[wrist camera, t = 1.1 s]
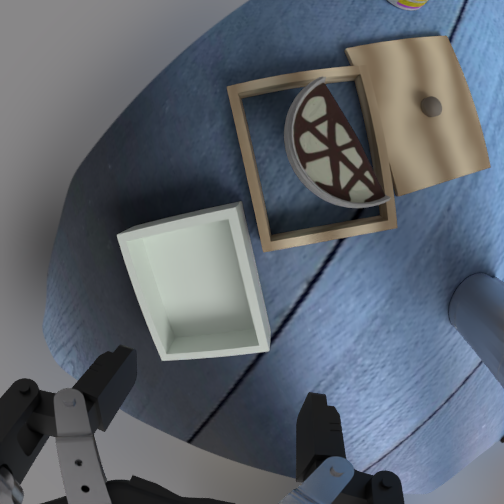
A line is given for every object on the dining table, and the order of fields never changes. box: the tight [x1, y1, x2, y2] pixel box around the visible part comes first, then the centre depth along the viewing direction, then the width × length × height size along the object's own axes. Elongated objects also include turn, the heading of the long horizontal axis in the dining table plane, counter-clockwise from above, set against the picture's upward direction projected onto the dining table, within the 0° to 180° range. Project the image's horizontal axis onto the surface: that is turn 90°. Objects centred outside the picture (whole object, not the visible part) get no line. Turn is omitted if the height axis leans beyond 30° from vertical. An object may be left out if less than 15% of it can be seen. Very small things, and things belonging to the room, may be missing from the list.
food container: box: [284, 76, 391, 208], centre depth 27 cm, size 12×6×10 cm, turn 30°
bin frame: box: [227, 65, 397, 252], centre depth 30 cm, size 15×18×3 cm
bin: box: [117, 201, 271, 361], centre depth 35 cm, size 14×17×5 cm
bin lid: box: [344, 36, 490, 196], centre depth 28 cm, size 15×18×2 cm
